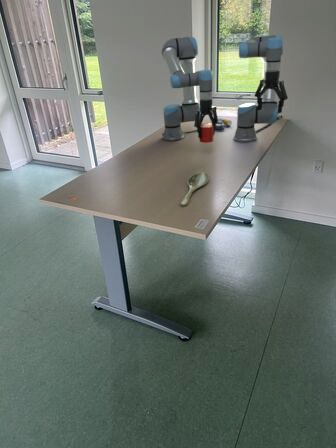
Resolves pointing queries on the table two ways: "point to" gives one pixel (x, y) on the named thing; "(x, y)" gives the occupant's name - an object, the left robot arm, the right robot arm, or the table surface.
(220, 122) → the spray gun
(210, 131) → the canister
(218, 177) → the table surface
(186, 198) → the spoon
